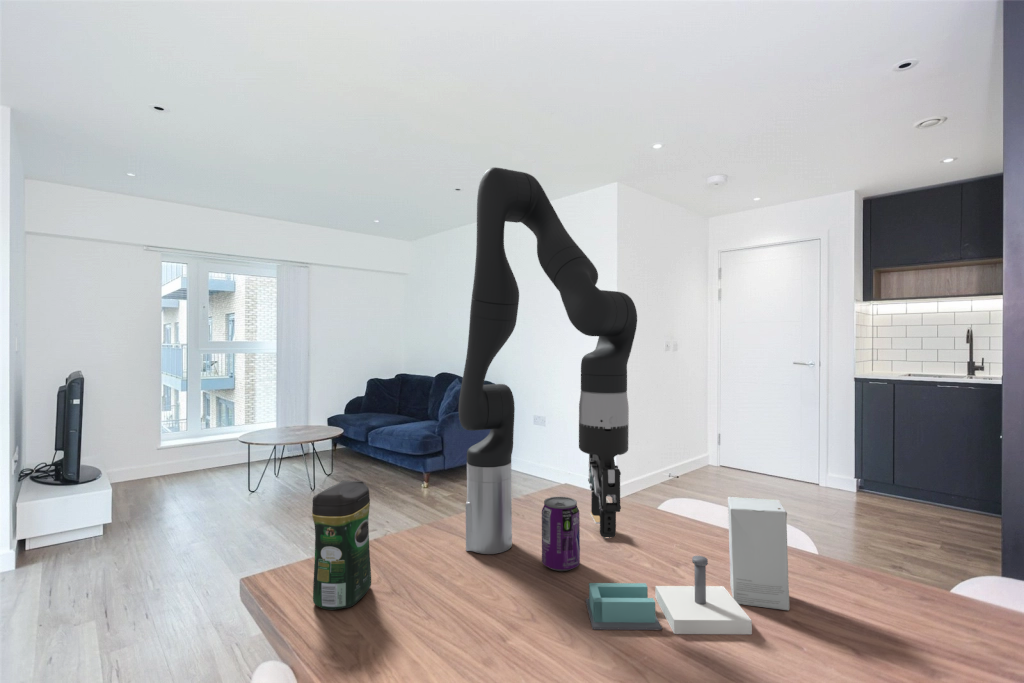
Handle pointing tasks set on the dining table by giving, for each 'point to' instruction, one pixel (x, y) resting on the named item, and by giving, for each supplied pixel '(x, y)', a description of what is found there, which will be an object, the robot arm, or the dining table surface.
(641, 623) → the felt pad
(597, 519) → the architectural model
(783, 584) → the skincare box
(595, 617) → the c link
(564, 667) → the dining table surface
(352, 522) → the coffee jar
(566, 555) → the beverage can
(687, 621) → the stand
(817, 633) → the dining table surface
